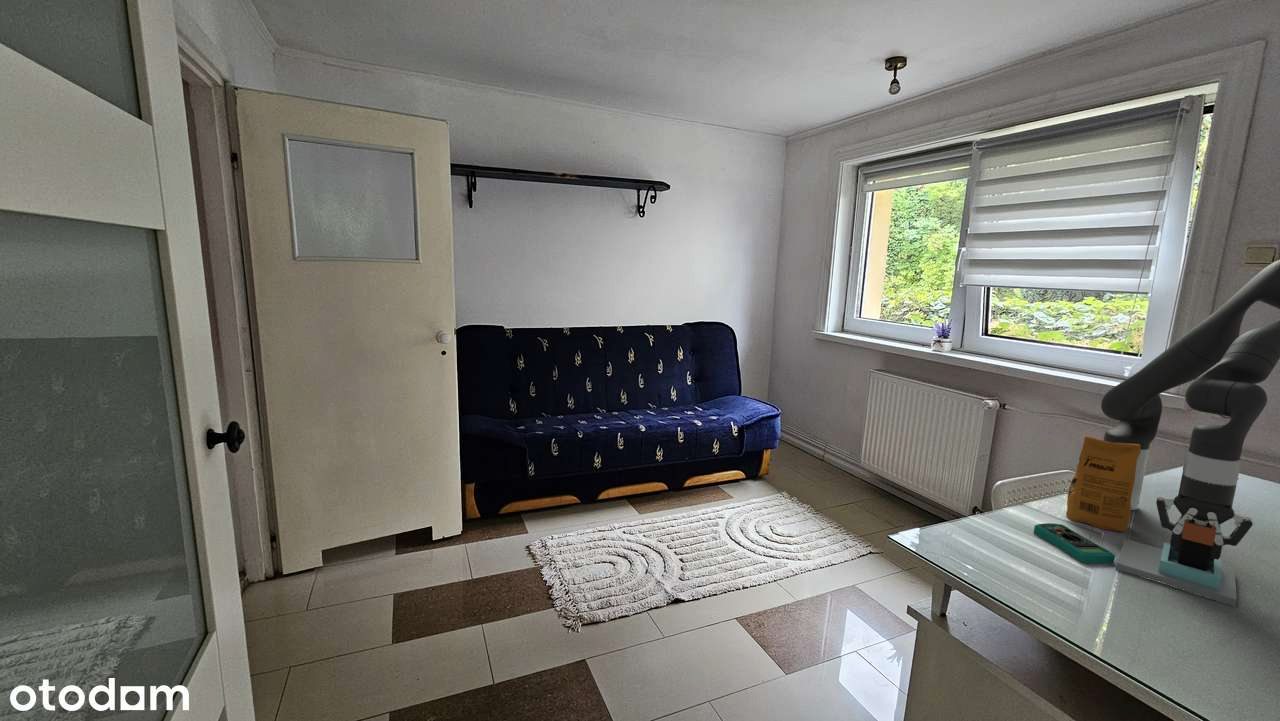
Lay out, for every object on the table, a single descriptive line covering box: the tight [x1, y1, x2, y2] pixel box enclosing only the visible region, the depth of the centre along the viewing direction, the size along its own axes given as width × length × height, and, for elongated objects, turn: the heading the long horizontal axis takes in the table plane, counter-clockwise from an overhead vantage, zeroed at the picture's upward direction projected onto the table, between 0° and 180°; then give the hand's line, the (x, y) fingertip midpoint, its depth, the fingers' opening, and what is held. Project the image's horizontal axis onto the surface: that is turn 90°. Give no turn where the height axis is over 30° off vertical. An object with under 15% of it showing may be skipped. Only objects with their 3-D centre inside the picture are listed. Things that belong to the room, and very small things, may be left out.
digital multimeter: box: [1033, 522, 1116, 565], centre depth 120 cm, size 7×15×3 cm, turn 2°
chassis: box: [1115, 538, 1238, 608], centre depth 110 cm, size 17×16×4 cm
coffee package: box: [1065, 435, 1141, 533], centre depth 132 cm, size 10×12×22 cm
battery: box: [1177, 518, 1216, 571], centre depth 107 cm, size 4×7×10 cm, turn 134°
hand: (1193, 554), depth 108 cm, fingers closed on battery, 4 cm apart
